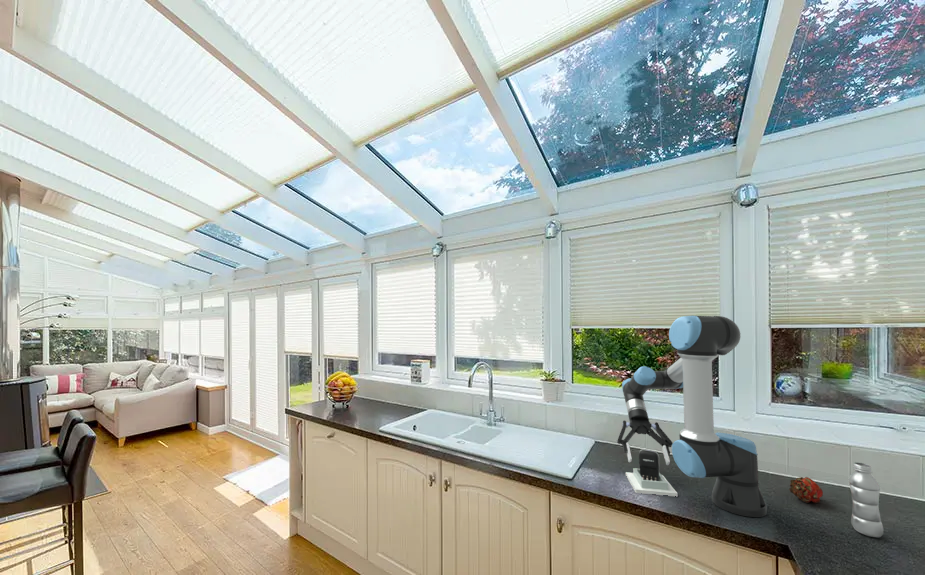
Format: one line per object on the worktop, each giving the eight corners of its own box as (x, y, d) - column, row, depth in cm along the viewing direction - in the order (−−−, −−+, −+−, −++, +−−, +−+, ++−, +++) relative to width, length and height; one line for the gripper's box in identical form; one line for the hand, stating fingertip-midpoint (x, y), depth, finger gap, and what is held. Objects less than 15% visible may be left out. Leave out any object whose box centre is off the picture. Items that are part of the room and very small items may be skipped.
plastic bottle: (865, 527, 114) (859, 460, 116) (891, 540, 107) (885, 469, 109) (845, 528, 114) (839, 460, 116) (870, 541, 107) (864, 469, 109)
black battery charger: (639, 481, 143) (637, 450, 144) (640, 478, 146) (639, 448, 147) (659, 485, 139) (658, 454, 140) (660, 482, 143) (659, 451, 144)
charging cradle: (662, 478, 149) (662, 468, 149) (677, 496, 133) (677, 486, 134) (625, 475, 152) (625, 465, 152) (635, 492, 136) (635, 482, 137)
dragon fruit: (801, 510, 127) (806, 504, 135) (828, 502, 123) (831, 496, 131) (781, 484, 132) (787, 479, 140) (806, 475, 128) (811, 471, 136)
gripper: (667, 419, 159) (682, 469, 143) (605, 415, 164) (613, 463, 148) (670, 409, 154) (687, 459, 138) (607, 406, 159) (615, 454, 143)
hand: (649, 462), depth 143 cm, fingers open, 13 cm apart
